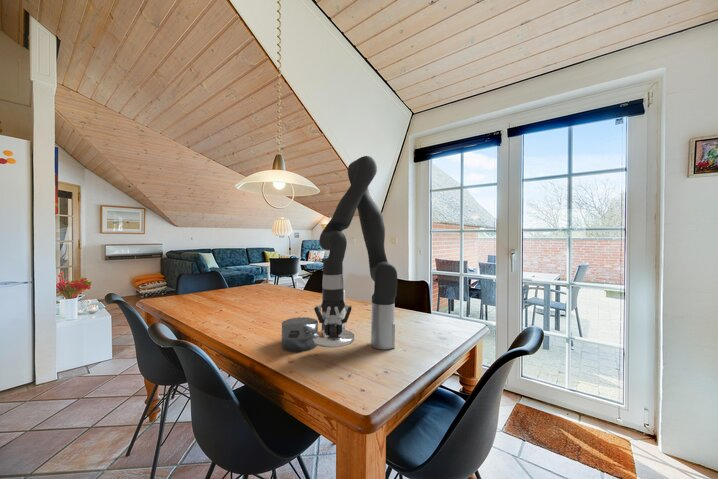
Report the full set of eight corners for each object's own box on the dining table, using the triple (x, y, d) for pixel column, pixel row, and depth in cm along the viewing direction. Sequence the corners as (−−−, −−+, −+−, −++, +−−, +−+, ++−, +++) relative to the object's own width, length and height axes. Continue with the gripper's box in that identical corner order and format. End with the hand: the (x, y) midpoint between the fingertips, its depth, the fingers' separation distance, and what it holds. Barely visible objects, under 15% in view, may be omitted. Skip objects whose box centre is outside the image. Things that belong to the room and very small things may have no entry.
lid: (353, 331, 108) (353, 318, 108) (354, 346, 93) (354, 331, 93) (315, 332, 107) (314, 319, 107) (309, 348, 92) (309, 332, 92)
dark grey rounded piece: (289, 335, 122) (290, 314, 122) (321, 336, 121) (321, 315, 121) (273, 355, 101) (273, 330, 101) (311, 356, 100) (312, 331, 100)
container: (316, 336, 121) (317, 290, 121) (334, 330, 129) (334, 287, 129) (332, 342, 115) (332, 293, 114) (349, 336, 122) (350, 290, 122)
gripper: (353, 284, 104) (353, 330, 104) (315, 284, 104) (315, 331, 104) (352, 288, 96) (352, 338, 96) (311, 288, 96) (311, 338, 97)
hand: (333, 334), depth 100 cm, fingers closed on lid, 3 cm apart
